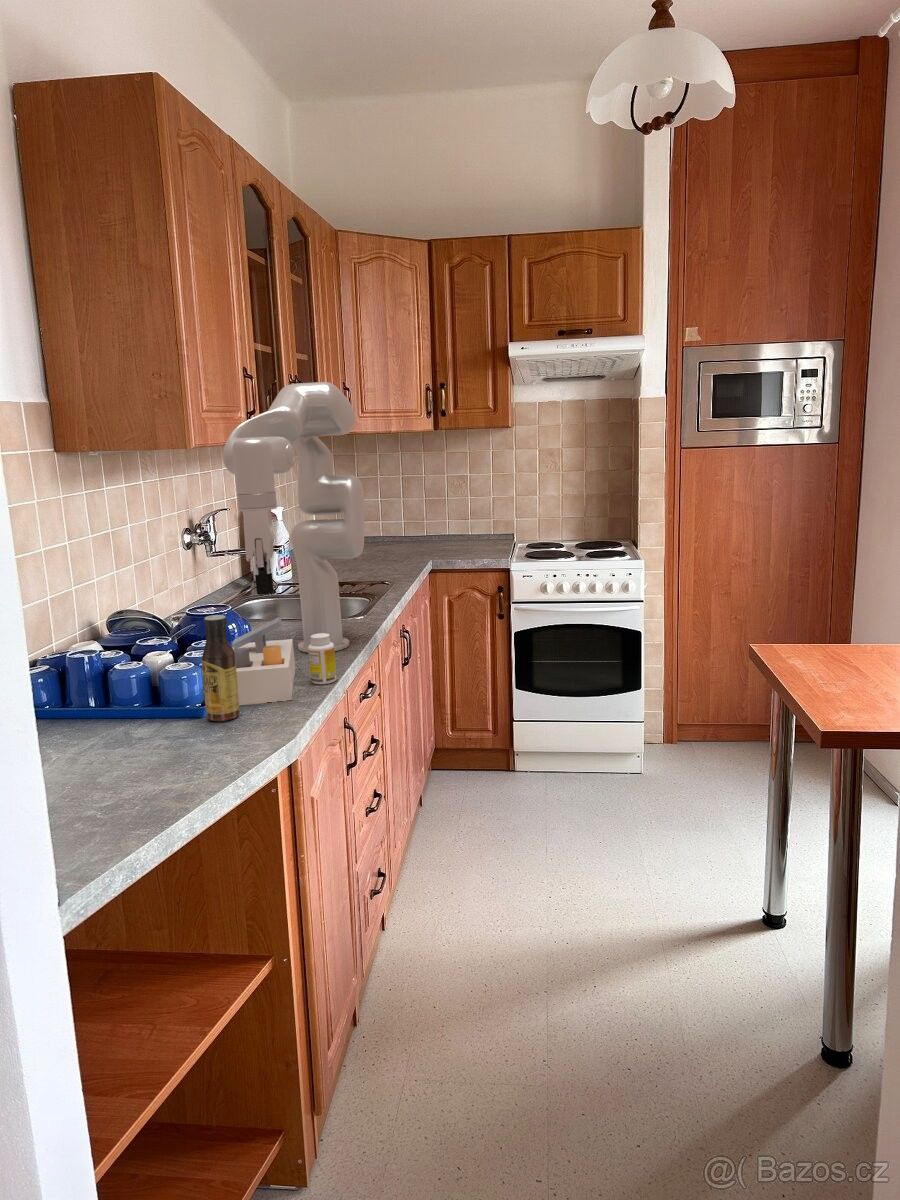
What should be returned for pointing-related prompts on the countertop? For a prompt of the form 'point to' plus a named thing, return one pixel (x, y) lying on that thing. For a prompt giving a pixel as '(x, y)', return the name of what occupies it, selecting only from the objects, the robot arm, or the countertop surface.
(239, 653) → the button charcoal
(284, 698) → the panel
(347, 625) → the countertop surface
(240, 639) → the rocker
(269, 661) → the button orange
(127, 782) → the countertop surface
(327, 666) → the supplement bottle
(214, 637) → the sauce bottle
